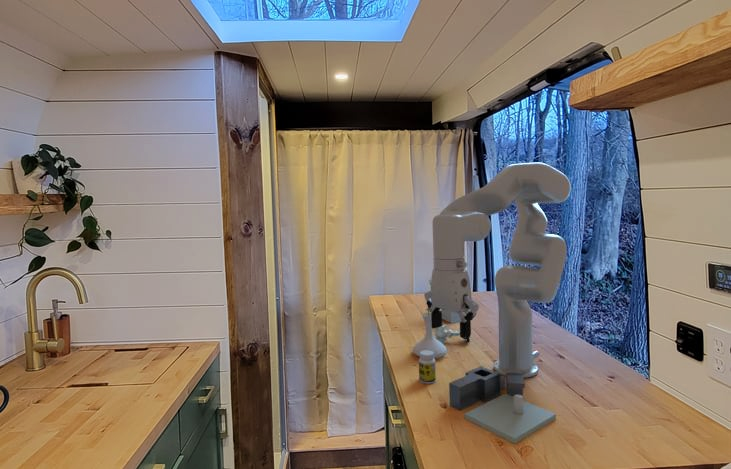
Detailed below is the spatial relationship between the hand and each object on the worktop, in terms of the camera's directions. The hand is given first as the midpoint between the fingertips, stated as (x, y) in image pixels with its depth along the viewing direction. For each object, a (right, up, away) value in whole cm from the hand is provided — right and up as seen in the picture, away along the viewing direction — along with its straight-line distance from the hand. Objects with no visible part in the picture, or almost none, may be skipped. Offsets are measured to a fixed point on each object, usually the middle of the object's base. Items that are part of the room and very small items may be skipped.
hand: (450, 331), depth 111 cm
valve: (+10, -15, +48) cm, 51 cm away
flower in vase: (0, -16, +38) cm, 41 cm away
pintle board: (+15, -19, -3) cm, 25 cm away
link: (+9, -19, +7) cm, 22 cm away
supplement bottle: (-3, -18, +18) cm, 25 cm away
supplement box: (+15, -12, +74) cm, 77 cm away
